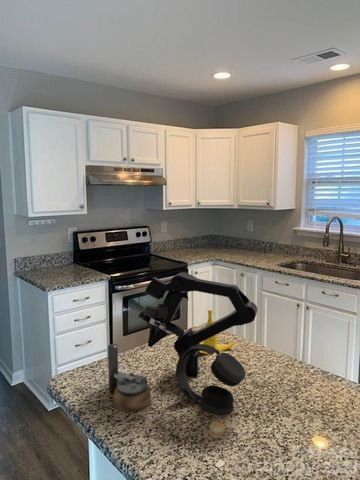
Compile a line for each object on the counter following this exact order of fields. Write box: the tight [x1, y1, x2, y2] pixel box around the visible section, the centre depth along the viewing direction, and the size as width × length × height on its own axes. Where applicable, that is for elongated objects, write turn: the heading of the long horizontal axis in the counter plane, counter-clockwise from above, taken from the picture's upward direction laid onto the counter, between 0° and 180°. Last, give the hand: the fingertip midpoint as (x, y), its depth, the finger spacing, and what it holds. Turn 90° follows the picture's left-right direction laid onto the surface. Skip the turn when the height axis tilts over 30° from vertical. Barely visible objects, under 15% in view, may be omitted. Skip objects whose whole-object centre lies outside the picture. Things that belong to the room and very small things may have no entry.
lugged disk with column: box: [107, 343, 148, 396], centre depth 113 cm, size 14×9×15 cm, turn 56°
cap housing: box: [106, 383, 152, 413], centre depth 113 cm, size 15×11×4 cm
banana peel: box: [198, 309, 236, 355], centre depth 154 cm, size 17×19×17 cm
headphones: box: [175, 344, 246, 415], centre depth 110 cm, size 18×8×20 cm
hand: (149, 346), depth 124 cm, fingers closed
